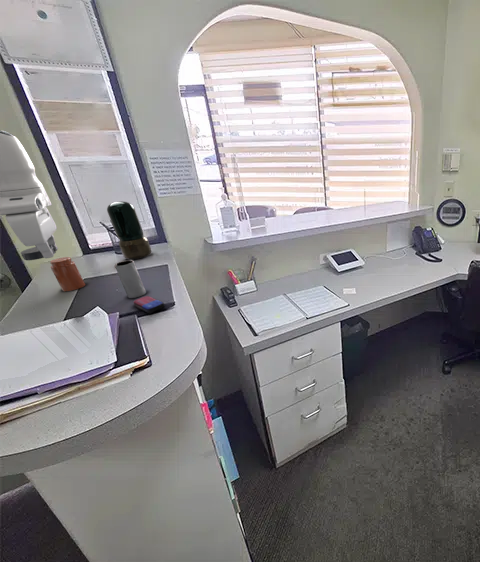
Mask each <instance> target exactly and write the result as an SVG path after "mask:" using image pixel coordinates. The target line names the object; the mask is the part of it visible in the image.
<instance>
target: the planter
mask: <svg viewBox="0 0 480 562" xmlns="http://www.w3.org/2000/svg"><path fill="white" fill-rule="evenodd" d="M114 268H115V271H116V273H117V275H118V278H119V279H120V282H121V284H122V288H123V289H124V291H125V295H126V296H127V298H128V299H135V298H137V299H138V298H141V297H144V295H146V294H147V290H146V289H145V286H144V283H143V281H142V279H141V276H140V274H139V270H138V269H137V266H136V264H135V261H134V259H127V260H122V261H119V262H116V263H115V264H114Z"/></svg>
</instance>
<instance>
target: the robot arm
mask: <svg viewBox="0 0 480 562" xmlns="http://www.w3.org/2000/svg"><path fill="white" fill-rule="evenodd" d="M28 154H29V153H28V152H27V151H26V149H25V147H24V146H23V144H22V143H21V141H20V140H19V139H18V138H17V137H16V136H15V135H13V134H12V133H10V132H8V131H6V130H1V129H0V216H5V220H6V221H7V223H8V225H9V227H10V228H11V230H12V231H13V233H14V234H15V236H16V237H17V239H18V240H19V241H20V243H22V244H23V245H24V246H25V247H36V248H37V249H38V250H39V251H40V252H41V253H42V255H43V257H44V258H43V259H52V258H53V257H54V256H55V254H54V253H53V251H52V249H50V247H49V245H52V247H53V248H54V249H55V251H56V252H58V249H59V247H58V246H57V244H56V239H55V236H54V233H56V231H57V230H58V227H57V224H56V222H55V220H54V218H53V216H52V214H51V213H50V211H49V209H48V207H51V206H52V205H53V203H52V202H51V199H50V197H49V195H48V193H47V191H46V189H45V186H44V185H43V183H42V182H41V181H40V180H39V178H38V177H37V174H36V168H35V166H34V164H33V162H32V160H31V158H30V156H29V155H28Z"/></svg>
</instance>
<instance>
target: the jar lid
mask: <svg viewBox="0 0 480 562" xmlns="http://www.w3.org/2000/svg"><path fill="white" fill-rule="evenodd" d="M49 247H50V249H52V251H53V253H54V255H55V254H56V253H57V251H55V249H54V248H53V247H52V245H49ZM20 254H21V257H22V258H23V260H24V261H36V260H41V259H45V258H44V257H43V255H42V253H41V252H40V251H39V250H38V249H37V248H36V246H32V247H30V248H27V249H24V250H22V251H20Z"/></svg>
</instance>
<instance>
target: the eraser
mask: <svg viewBox="0 0 480 562" xmlns="http://www.w3.org/2000/svg"><path fill="white" fill-rule="evenodd" d="M133 306H134V307H135V308H137V309H139V310H140V311H143V312H146V313H147V314H150V315H151V314H153V313H155V312H157V311H159V310H161V309H163V308H165V303H164V302H163V301H160V300H159V299H156V298H153V297H151V296H149V295H146V296H142V297H139V298H137V299H135V300H134V301H133Z"/></svg>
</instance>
